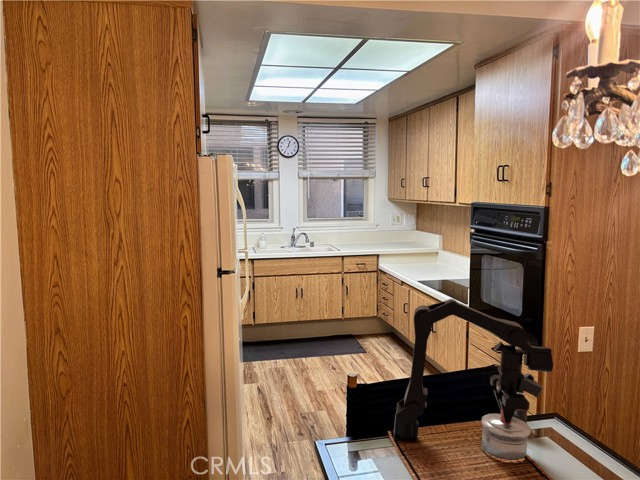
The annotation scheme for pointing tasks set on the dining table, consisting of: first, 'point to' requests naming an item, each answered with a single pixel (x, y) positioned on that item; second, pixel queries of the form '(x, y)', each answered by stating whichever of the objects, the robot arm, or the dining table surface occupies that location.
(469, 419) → the dining table surface
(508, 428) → the lid
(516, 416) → the supplement bottle
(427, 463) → the dining table surface
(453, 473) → the dining table surface
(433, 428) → the dining table surface
